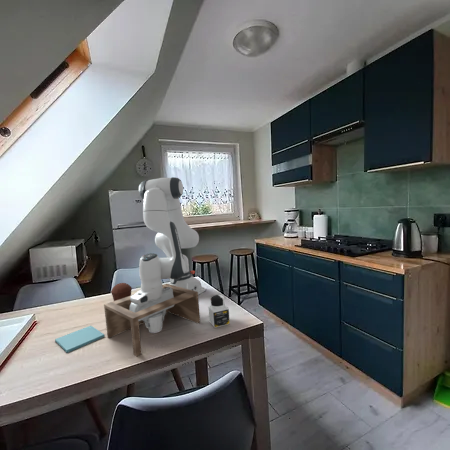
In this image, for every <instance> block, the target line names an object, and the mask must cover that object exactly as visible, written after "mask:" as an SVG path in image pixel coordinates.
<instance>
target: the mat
mask: <svg viewBox="0 0 450 450" xmlns="http://www.w3.org/2000/svg"><path fill="white" fill-rule="evenodd" d="M104 338H105V334H104V333H103V332H102V331H100V330H98V329H97V328H95V327H94V326H92V325H89V326H86V327H82V328H81V329H78V330H75V331H73V332H69V333H67V334H64V335H61V336H60V337H57V338H55V339H54V340H55V341H54V342H55V343H56V344H57V345H58V346H59V347H61V349H62V350H63V351H64V352H65V353H67V354H68V353H71V352H72V351H75V350H77V349H80V348H82V347H85V346H86V345H89V344H91V343H93V342H96V341H98V340H100V339H104Z"/></svg>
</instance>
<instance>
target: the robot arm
mask: <svg viewBox="0 0 450 450" xmlns="http://www.w3.org/2000/svg"><path fill="white" fill-rule="evenodd" d="M183 192H184V185H183V182H182V180H181V178H179V177H173V176H172V177H158V178H153V179H146V180H143V181H141V182H140V184H139V185H138V193H139V197H140V198H141V199H142V200H143V205H142V219H143V223H144V225H145V226H146V228H148V229H149V230H150V231H153V232H155V233H156V235H155V236H154V243H155V246H156V247H157V248H158V249H160V250H161V251H163V253H164V254H165V256H166V257H159V255H158V254H157V253H147V254H144V255H142V256H140V259H139V264H138V265H139V267H138V271H139V278H140V283H141V284H140V289H139V290H138V291H136V292H135V293H134V294H131V295H132V296H131V297H130V301H132V303H131V304H130V311H132V312H134V313H135V312H138V311H140V310H143V309H146V308H148V307H151V306H153V305H156V304H158V303H161V302H163V301H166V300H168V299H171V298H174V296H173V289H172V288H171V287H167V288H163V287H162V285H163V282H162V280H168V279H169V282H170V285H174V286H177V287H181V288H185V289H189V290H193V291H197V292H198V296H199V295H201V294H203V293H204V292H205V291H207V288H205V287H203V286H202V283H201V280H199V279H198V278H196V277H194V276H193V275H194V274H195V272H196V271H195V270H190V268H189V266H190V264H189V258H188V256H187V255H185V254H183V252H182V249H191V248H195V247H197V245H198V244H199V240H200V236H199V233H198V232H197V230H195V229H194V228H193V227H191V226H189V225H188V223H187V222H186V220H185V218H184V216H183V210H182V206H181V201H180V198H181V197H182V195H183ZM174 305H175V304H174ZM174 305H172V306H170V307H167V308H165V309H162V310H160V311H158V312H155V313H153V314H151V315H148V316H146V317H143V318H141V319H139V320H138V321H141V320H143V321H144V323H143V324H144V325H145V326H144V327H145V328H147V329H148V327H150V323H148V322H147V320H148V317H150V316H153V315H155V314H157V313H160V312H162V322H163V321H165V315H166V314H167V313H166V310H167V309H169V308H171V307H174Z"/></svg>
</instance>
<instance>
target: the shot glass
mask: <svg viewBox="0 0 450 450" xmlns="http://www.w3.org/2000/svg"><path fill="white" fill-rule="evenodd" d="M147 322H148V323H150V327H148V328H147V329H148V333H151V334H156V333H159V332H161V331H162V330H163V321H162V312H160V313H157V314H155V315H153V316H150V317H148V320H147Z"/></svg>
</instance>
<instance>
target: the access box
mask: <svg viewBox="0 0 450 450" xmlns="http://www.w3.org/2000/svg"><path fill="white" fill-rule="evenodd" d="M162 287H163V288H167V287H171V288H172V289H173V296H174V298H171V299H168V300H166V301H163V302H161V303H158V304H156V305H153V306H151V307H148V308H146V309H143V310H140V311H138V312H135V313H134V312H132V311H130V304H131V303H132V301H130V297H131V296H132V295H133V294H131V296H128V297H125V298H122V299H119V300H116V301H114V300H113V301H110V302H107V303H105V304H103V307H104V317H105V318H104V319H105V328H106V334H107V335H106V336H107V338H108V339H110V338H112V337H115V336H117V335H119V334H122V333H124V332H126V331H129V330H130V332H131V341H132V354H133V355H134V356H135V357H138V355H139V356H141V355H142V344H141V334H140V333H141V332H140V326H141V325H143V324H145V323H144V321H143V320H141V321H138V320H139V319H141V318H143V317H146V316H148V315H151V314H153V313H155V312H158V311H160V310H162V309H165V308H167V307H170V306H172V305H174V304H175V305H174V307H171V308H169V309H167V310H166V313H165V314H167V313H169V314H173V315H175V316H177V317H180V318H183V319H185V320H188V321H191V322H193V323H196V324H201V315H200V314H201V313H200V303H199V302H200V301H199V300H200V299H199V295H198V292H197V291H193V290H189V289H185V288H181V287H177V286H174V285H170V284H169V283H164V284H162Z"/></svg>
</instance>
